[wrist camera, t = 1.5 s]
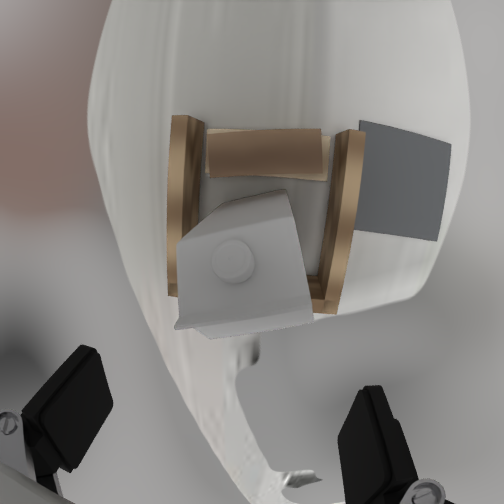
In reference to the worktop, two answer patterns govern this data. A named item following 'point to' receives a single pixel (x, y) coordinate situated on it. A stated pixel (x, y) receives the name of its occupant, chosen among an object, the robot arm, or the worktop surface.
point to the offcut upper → (265, 152)
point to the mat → (402, 182)
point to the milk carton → (243, 270)
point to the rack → (338, 214)
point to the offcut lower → (298, 176)
